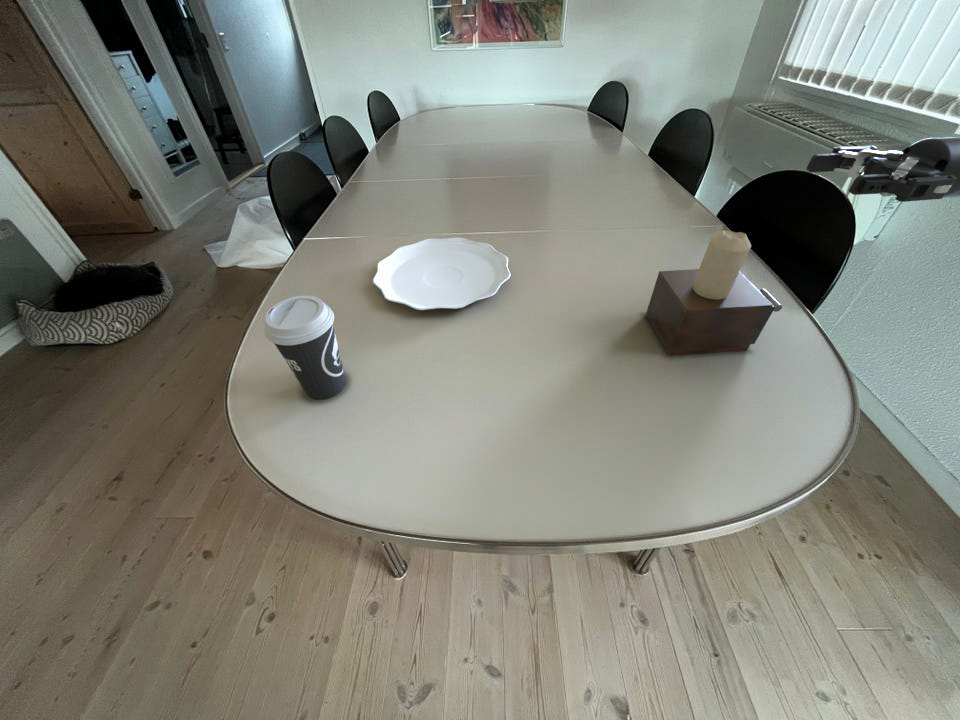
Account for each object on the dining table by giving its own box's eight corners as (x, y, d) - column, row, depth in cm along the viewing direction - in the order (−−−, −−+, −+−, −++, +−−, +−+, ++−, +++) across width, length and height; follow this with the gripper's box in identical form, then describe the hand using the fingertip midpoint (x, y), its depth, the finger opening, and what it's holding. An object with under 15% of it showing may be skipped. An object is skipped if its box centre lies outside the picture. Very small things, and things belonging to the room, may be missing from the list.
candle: (725, 283, 68) (751, 226, 61) (731, 302, 64) (759, 243, 57) (690, 279, 69) (711, 223, 62) (693, 297, 65) (716, 239, 58)
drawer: (744, 307, 77) (762, 271, 72) (776, 342, 70) (799, 305, 64) (659, 312, 77) (671, 276, 72) (682, 348, 69) (698, 311, 64)
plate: (536, 288, 86) (537, 278, 84) (410, 337, 75) (408, 327, 73) (466, 235, 104) (466, 226, 103) (357, 269, 94) (355, 260, 92)
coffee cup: (323, 358, 71) (294, 286, 61) (367, 374, 68) (344, 301, 58) (282, 395, 65) (242, 322, 55) (328, 415, 62) (295, 341, 52)
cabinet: (715, 310, 78) (734, 266, 72) (747, 350, 70) (773, 305, 63) (645, 314, 78) (659, 271, 71) (669, 355, 70) (687, 310, 63)
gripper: (922, 123, 58) (811, 128, 57) (1027, 154, 47) (892, 160, 47) (888, 178, 63) (785, 183, 62) (975, 217, 52) (853, 223, 52)
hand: (831, 173), depth 55 cm, fingers open, 8 cm apart
